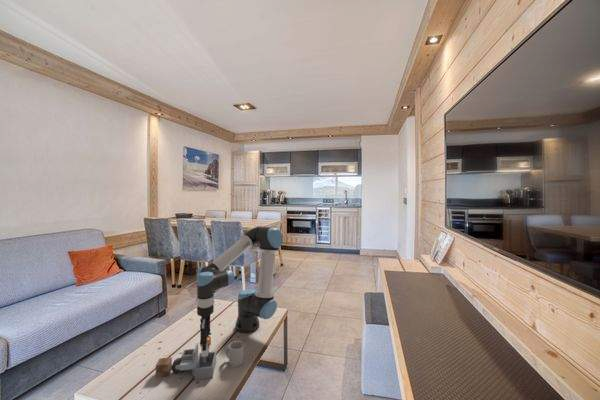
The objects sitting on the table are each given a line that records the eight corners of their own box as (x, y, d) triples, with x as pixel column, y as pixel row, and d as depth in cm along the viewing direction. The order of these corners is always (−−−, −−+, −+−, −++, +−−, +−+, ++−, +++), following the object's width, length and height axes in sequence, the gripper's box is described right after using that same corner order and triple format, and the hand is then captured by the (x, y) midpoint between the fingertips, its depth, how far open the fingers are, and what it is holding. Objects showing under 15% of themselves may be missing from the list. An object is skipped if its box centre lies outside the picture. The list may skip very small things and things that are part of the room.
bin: (216, 360, 133) (216, 351, 132) (212, 377, 121) (212, 367, 121) (199, 362, 131) (199, 353, 131) (194, 379, 119) (194, 369, 119)
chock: (171, 369, 126) (171, 357, 126) (168, 376, 121) (168, 364, 121) (159, 370, 125) (159, 358, 125) (155, 378, 120) (155, 365, 120)
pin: (211, 357, 128) (211, 335, 128) (209, 363, 124) (209, 340, 123) (201, 358, 128) (201, 336, 127) (199, 364, 123) (199, 341, 122)
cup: (239, 368, 127) (239, 350, 127) (221, 364, 130) (221, 346, 130) (246, 358, 134) (246, 342, 134) (229, 355, 137) (229, 338, 137)
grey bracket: (198, 363, 131) (198, 343, 130) (194, 376, 122) (194, 354, 121) (175, 365, 129) (174, 345, 128) (169, 379, 120) (169, 356, 119)
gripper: (200, 298, 133) (201, 342, 134) (192, 314, 115) (193, 365, 116) (216, 297, 134) (216, 341, 135) (210, 313, 117) (210, 363, 117)
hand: (205, 352), depth 125 cm, fingers closed on pin, 5 cm apart
